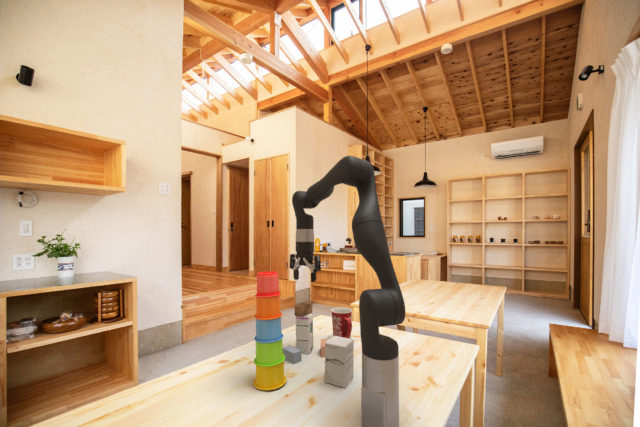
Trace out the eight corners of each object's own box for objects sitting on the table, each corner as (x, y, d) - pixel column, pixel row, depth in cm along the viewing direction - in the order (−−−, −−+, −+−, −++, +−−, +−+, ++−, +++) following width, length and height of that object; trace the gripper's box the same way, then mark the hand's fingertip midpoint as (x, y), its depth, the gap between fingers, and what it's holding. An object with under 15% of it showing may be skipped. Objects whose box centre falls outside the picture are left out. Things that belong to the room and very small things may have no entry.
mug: (328, 339, 128) (328, 308, 128) (347, 336, 131) (347, 306, 131) (339, 351, 116) (339, 316, 116) (359, 348, 119) (359, 314, 119)
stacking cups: (254, 394, 86) (255, 275, 88) (252, 376, 96) (254, 270, 97) (289, 389, 89) (289, 274, 90) (284, 372, 99) (284, 269, 100)
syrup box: (310, 354, 113) (310, 316, 113) (295, 353, 114) (295, 315, 115) (313, 348, 118) (313, 312, 119) (299, 347, 120) (299, 311, 120)
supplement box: (323, 382, 92) (323, 342, 93) (333, 372, 99) (333, 334, 100) (345, 389, 89) (345, 346, 90) (354, 377, 96) (354, 338, 96)
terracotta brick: (330, 357, 111) (330, 346, 111) (321, 357, 111) (321, 346, 111) (329, 349, 118) (329, 339, 118) (320, 349, 118) (320, 339, 118)
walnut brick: (301, 317, 112) (301, 306, 113) (294, 315, 114) (294, 305, 115) (312, 312, 118) (312, 302, 118) (305, 311, 120) (305, 301, 120)
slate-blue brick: (301, 361, 107) (301, 350, 107) (294, 364, 105) (294, 353, 105) (289, 355, 112) (289, 345, 112) (281, 358, 109) (281, 347, 110)
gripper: (285, 240, 119) (285, 280, 119) (313, 241, 111) (313, 284, 110) (297, 239, 125) (297, 277, 125) (324, 240, 117) (324, 281, 116)
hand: (304, 280), depth 117 cm, fingers open, 8 cm apart
